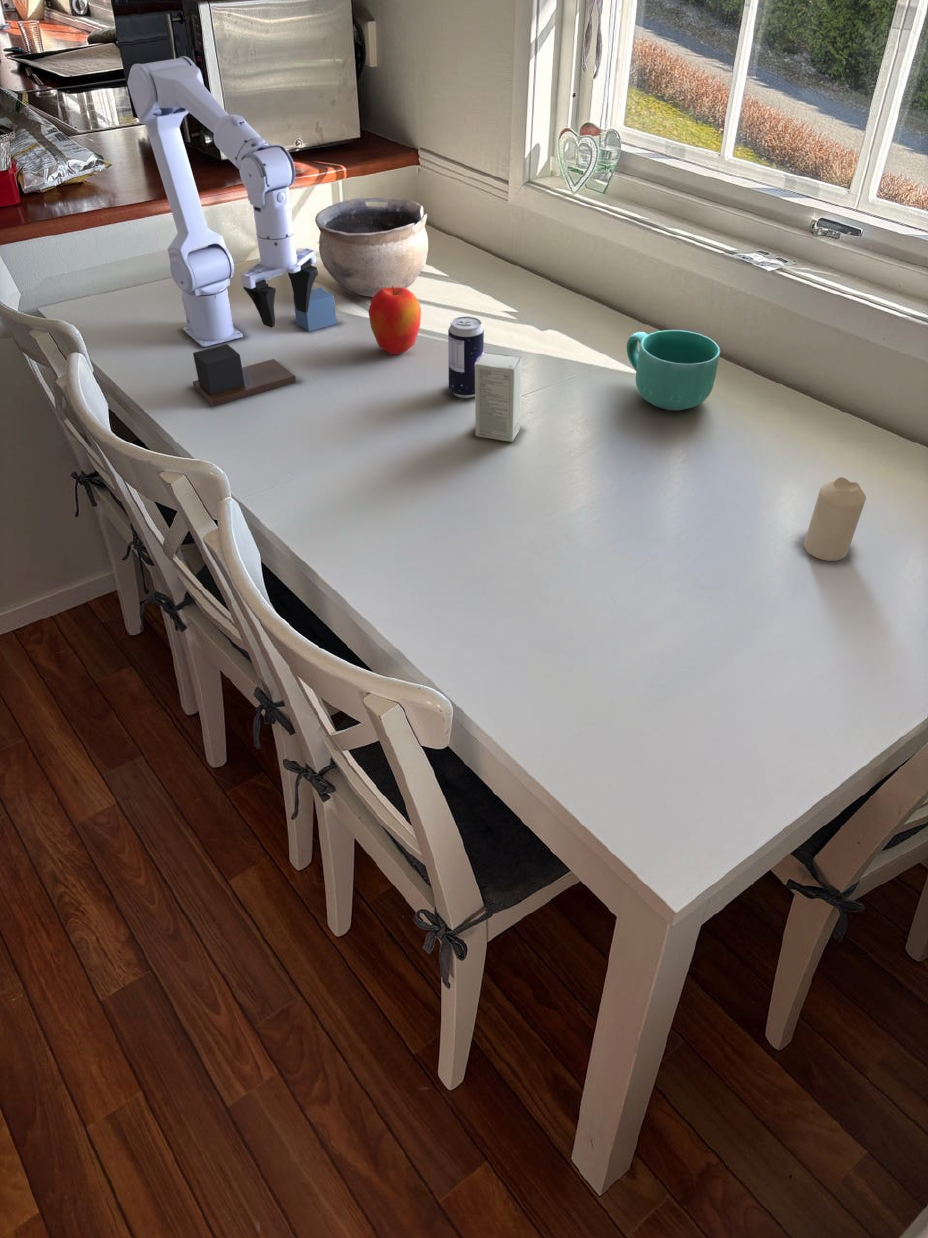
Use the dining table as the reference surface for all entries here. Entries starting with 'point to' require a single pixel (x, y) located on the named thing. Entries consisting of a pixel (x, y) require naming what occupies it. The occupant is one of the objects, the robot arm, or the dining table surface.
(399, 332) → the apple
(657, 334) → the mug
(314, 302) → the slate block
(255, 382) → the board
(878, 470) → the dining table surface
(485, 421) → the cosmetic box
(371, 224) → the ceramic bowl
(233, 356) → the dark grey cube
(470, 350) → the beverage can
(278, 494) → the dining table surface
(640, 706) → the dining table surface
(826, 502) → the candle
